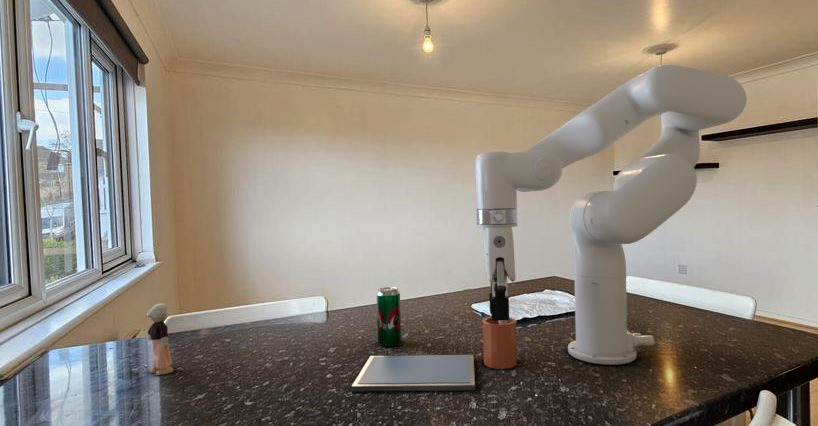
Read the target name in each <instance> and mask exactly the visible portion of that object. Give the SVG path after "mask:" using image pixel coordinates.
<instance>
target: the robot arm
mask: <svg viewBox="0 0 818 426" xmlns="http://www.w3.org/2000/svg"><path fill="white" fill-rule="evenodd" d="M747 98H748V97H747V93H746V91H745V88H744V87H743V85H742V84H741V83H740V82H739V81H738V80H736V79H735V78H733V77H731V76H728V75H725V74H721V73H716V72H712V71H707V70H706V71H705V70H702V69H698V68H693V67H688V66H682V65H676V64H675V65H674V64H661V65H656V66H654V67H652V68H650V69H648V70H646V71H645V72H643V73H640V74H639V75H637V76H635V77H633V78H631V79H629V80H628V81H625V82H624V83H622V84H621V85H620V86H618V87H617V88H615V89H614V90H612V91H611V92H609V93H608V94H607V95H605V96H603V97H602V98H601V99H599V100H598V101H596V102H595V103H593V104H591V105H590V106H589V107H587V108H585V109H584V110H582V111H581V112H579V114H577V115H575V116H573V117H572V118H570V119H569V120H568V121H566V122H565V123H564V124H563V125H561V126H560V127H558V128H557V129H555V130H554V131H552V132H550V133H549V134H548V135H546V136H545V137H544V138H542V139H540V140H539V141H537V142H535V143H534V144H532V145H531V146H530V147H528V148H527V149H525V150H524V151H519V152H509V151H486V152H483V153H480V154H478V155H477V156H476V158H475V162H474V165H475V166H474V167H475V168H474V170H475V203H476V204H475V208H476V228H482V229H483V231H482V232H483V255H484V265H485V273H486V277H487V280H488V281H489V289H490V290H489V294H488V295H489V298H488V299H489V313H490V317H491V318H492V320H493V321H499V320H509V317H510V298H509V291H508V290H509V289H508V288H509V287H508V280H510V281H511V282H512V283H513V282H515V281H516V277H517V275H516V263H515V245H514V232H513V228H514V227H515V228H516V227H518V204H517V202H518V198H517V197H518V196H517V191H518V192H521V193H529V192H539V191H545V190H549V189H550V188H552V187H554V186H555V185H557V183H558V182H559V181H560V179H561V177H562V174H563V169H565V168H566V167H568V166H570V165H573V164H574V163H576V162H578V161H581V160H583V159H586V158H589V157H591V156H594V155H596V154H598V153H600V152H602V151H605V150H606V149H608V148H609V147H611V146H613V144H615V143H617V142H618V141H619V140H620V139H622V138H624V137H625V136H626V135H627V134H629V133H631V132H632V131H633V130H635V129H637V128H638V127H639V126H641V125H643V124H644V123H645V122H647V121H648V120H650V119H652V118H654V117H657V116H660V123H661V124H660V125H661V127H660V128H661V131H660V132H661V134H660V137H659V139H658V140H657V141H656V142H655V143H654V144H653V145H652V146H650V147H649V148H648V149H647V150H646V151H644V152H643V153H641V154H640V155H639V156H637V158H635V159H634V160H632V161H631V162H630V163H629V162H628V164H626V165H625V166H624V167H623V168H622V169H621V170H619V172H618V173H617V175H616V176H615V179H614V182H613V190H599V191H591V192H588V193H585V194H583V195H581V196H580V197H578V198H577V199H576V200H575V201H574V202H573V204H572V206H571V208H570V210H569V215H568V226H569V232H570V236H571V241H572V247H573V248H572V250H573V266H574V268H573V269H574V270H573V272H574V275H573V277H574V316H575V318H574V319H575V321H574V322H575V340H572V341H571V342H569V343H568V345H567V352H568V354H569V355H570V356H571V357H573V358H575V359H576V360H578V361H582V362H585V363H590V364H595V365H596V364H597V365H605V366H607V365H609V366H612V365H614V366H618V365H624V364H625V365H626V364H629V363H632V362H634V361H635V360H636V359H637V357H638V355H637V354H638V353H637V352H638V351H637V349H636V348H638V346H643V347H653V346H654V345H655V338H654V336H653V335H649V334H648V335H642V334H641V333H640V332H634V333H632V332H631V331H629V329H628V305H627V304H628V301H627V300H628V299H627V298H628V297H627V260H626V255H625V250H624V247H623V245H629V244H634V243H637V242H638V241H641V240H642V239H644V238H646V237H647V236H649V235H650V234H651V233H652V232H654V231H655V230H657V229H658V228H659V227H660V226H662V225H663V224H664V223H665V222H666V221H667V220H669V219H670V218H671V217H672V216H674V215H675V214H676V213H677V212H679V211H680V210H682V208H683V207H685V206H686V205H687V204H688V202H689V201H690V200H691V199H692V197H693V195H694V194H695V191H696V188H697V184H698V177H697V171H696V169H695V167H696V165H697V164H698V163H699V160H700V156H701V145H700V144H701V143H700V133H699V132H700V131H702V130H705V129H710V128H714V127H717V126H721V125H726V124H728V123H730V122H732V121H734V120H736V119H737V118H738V117H740V115H741V114H742V113H743V112H744V110H745V108H746V105H747Z"/></svg>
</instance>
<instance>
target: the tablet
mask: <svg viewBox="0 0 818 426" xmlns="http://www.w3.org/2000/svg"><path fill="white" fill-rule="evenodd" d="M474 359H475V358H474V354H434V355H432V354H428V355H427V354H426V355H425V354H424V355H423V354H421V355H370V356H369V358H368V359H367V361H366V362H365V364H364V365H363V367H362V369H361V370H360V372H359V374H358V375H357V376H356V378H355V380H354V381H353V383H352V385H351V392H354V393H355V392H439V391H440V392H445V391H447V392H450V391H460V392H461V391H476V378H475V377H476V376H475V361H474Z"/></svg>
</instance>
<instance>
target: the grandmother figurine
mask: <svg viewBox="0 0 818 426" xmlns="http://www.w3.org/2000/svg"><path fill="white" fill-rule="evenodd" d="M167 310H168V307H167V304H165V303H157V304H156V303H155V304H154V305H153V306H151V308H149V310H148V312H147V313H146V315H145V317H146V318H150V319H151V321H152V324H151V325H150V326H149V328H148V330H147V340H148V341H151V343H152V352H153V357H152V367H153V368H151V370H150V371H149V372H150V373H152V374H154V373H155V376H161V375H168V374H170V373H173V372H174V370H175V369H174V368H173V367H172V365H173V360H172V356H171V351H170V346H169V345H170V344H169V328H168V327H169V326H168V325H167V324H166V323H165V321H166V320H167V319H168V316H169V315H168V312H167Z"/></svg>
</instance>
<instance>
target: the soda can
mask: <svg viewBox="0 0 818 426" xmlns="http://www.w3.org/2000/svg"><path fill="white" fill-rule="evenodd" d="M401 321H402V315H401V292H400V291H399V288H398V287H395V286H387V287H380V288H378V291H377V292H376V327H377V343H378V345H379V346H380V347H383V348H384V347H385V348H392V347H397V346H398V345H399V344H401V342H402V322H401Z"/></svg>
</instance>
